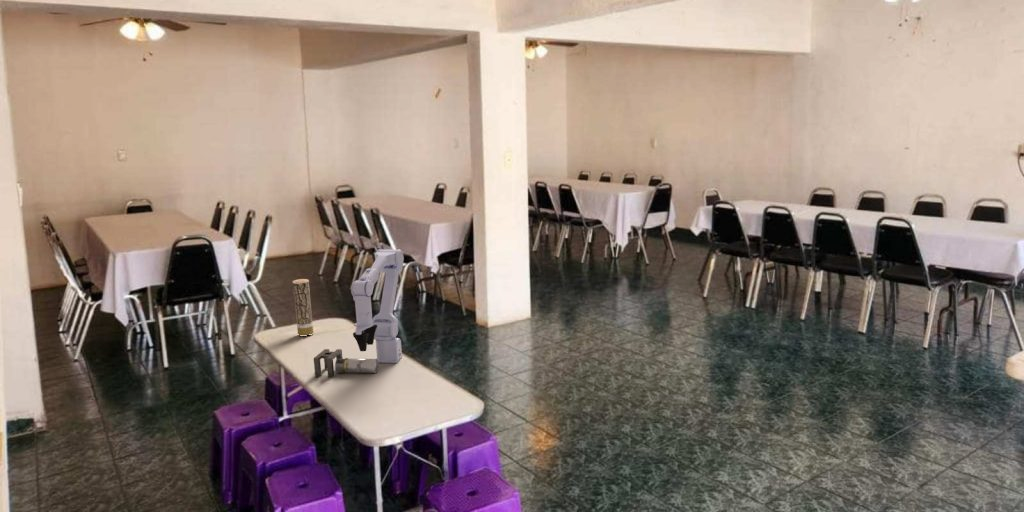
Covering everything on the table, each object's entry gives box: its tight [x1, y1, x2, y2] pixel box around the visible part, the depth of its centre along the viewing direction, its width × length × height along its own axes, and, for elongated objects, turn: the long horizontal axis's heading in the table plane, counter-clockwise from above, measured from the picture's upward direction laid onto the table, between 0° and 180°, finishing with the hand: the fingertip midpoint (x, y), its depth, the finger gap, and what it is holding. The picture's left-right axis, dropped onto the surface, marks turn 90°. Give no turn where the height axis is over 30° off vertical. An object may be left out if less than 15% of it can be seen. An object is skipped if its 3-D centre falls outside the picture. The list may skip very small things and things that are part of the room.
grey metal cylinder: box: [334, 357, 379, 374], centre depth 268 cm, size 15×6×5 cm, turn 82°
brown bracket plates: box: [313, 348, 344, 379], centre depth 270 cm, size 7×11×7 cm, turn 172°
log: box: [292, 278, 314, 336], centre depth 318 cm, size 7×7×25 cm
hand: (366, 347), depth 266 cm, fingers open, 7 cm apart
